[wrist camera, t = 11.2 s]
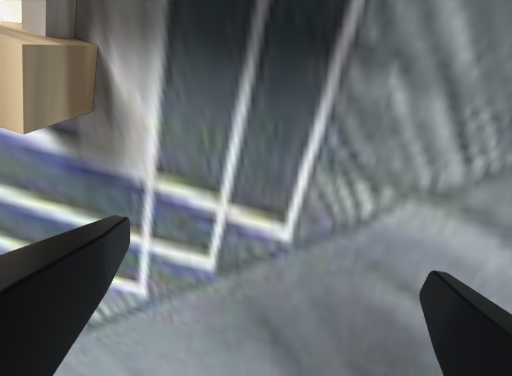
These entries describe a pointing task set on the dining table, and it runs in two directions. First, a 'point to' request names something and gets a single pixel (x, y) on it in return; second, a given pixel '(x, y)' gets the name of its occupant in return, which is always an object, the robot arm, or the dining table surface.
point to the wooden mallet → (44, 67)
